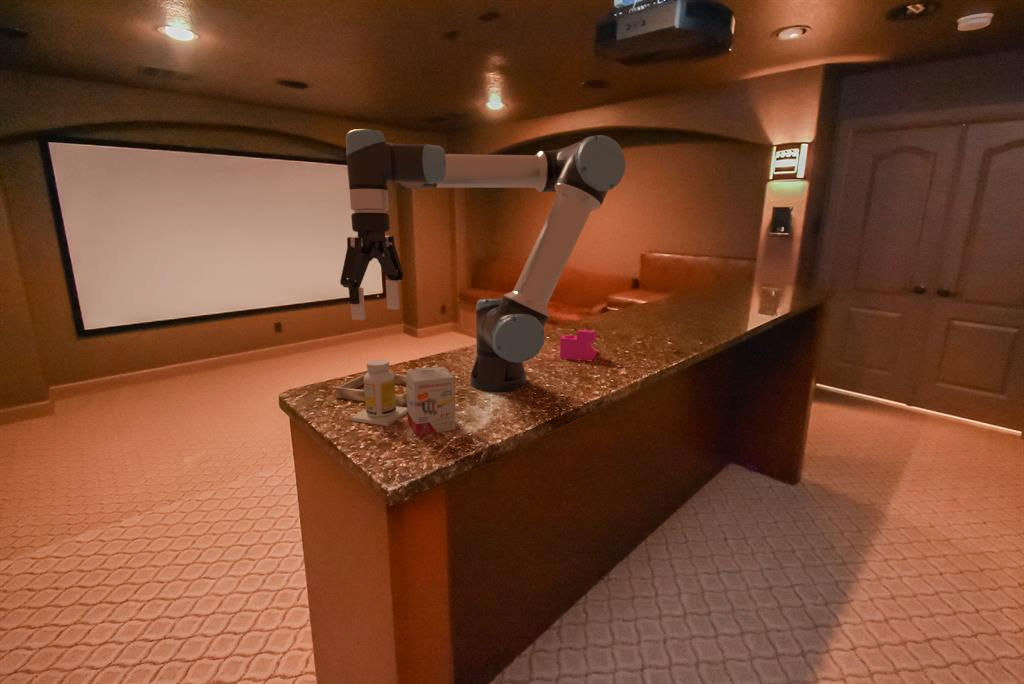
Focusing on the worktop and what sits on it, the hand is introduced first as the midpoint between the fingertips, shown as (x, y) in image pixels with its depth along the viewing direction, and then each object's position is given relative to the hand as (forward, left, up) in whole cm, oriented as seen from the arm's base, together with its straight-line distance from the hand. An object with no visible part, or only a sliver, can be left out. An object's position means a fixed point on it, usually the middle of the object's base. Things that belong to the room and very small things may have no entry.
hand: (377, 314), depth 103 cm
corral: (+7, -12, -23) cm, 27 cm away
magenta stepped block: (-34, -62, -23) cm, 74 cm away
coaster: (-1, +2, -23) cm, 23 cm away
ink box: (-14, +3, -23) cm, 27 cm away
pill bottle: (-1, +2, -22) cm, 22 cm away
